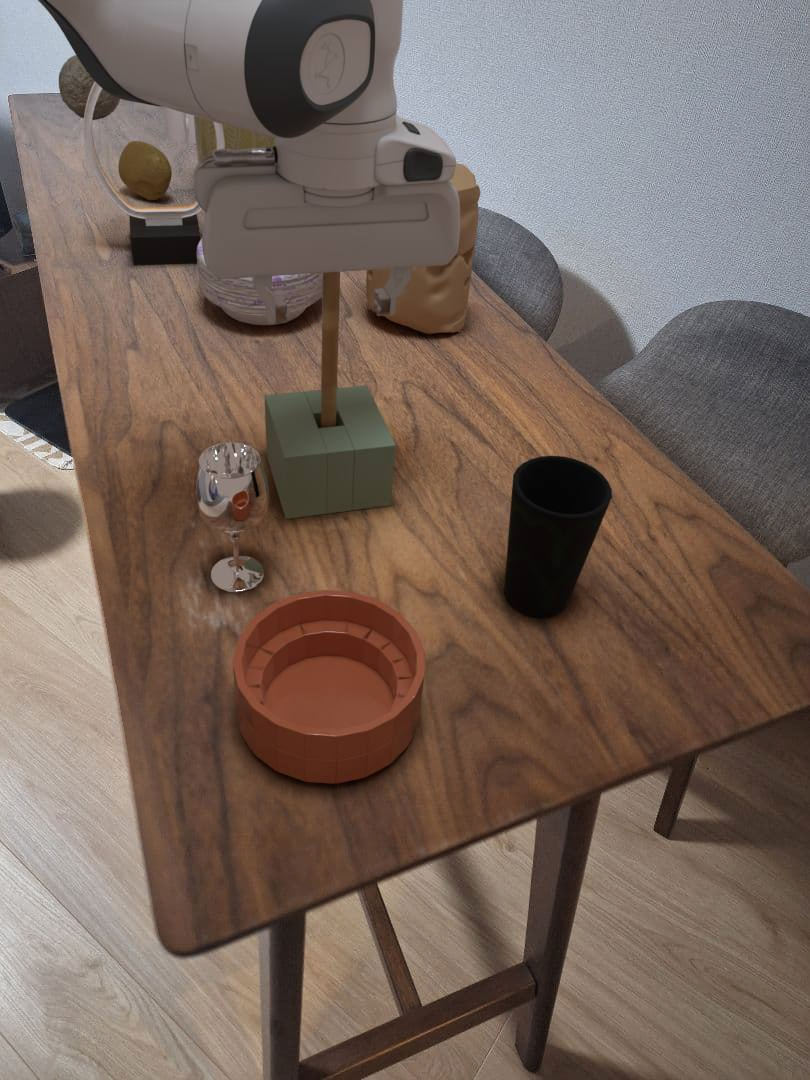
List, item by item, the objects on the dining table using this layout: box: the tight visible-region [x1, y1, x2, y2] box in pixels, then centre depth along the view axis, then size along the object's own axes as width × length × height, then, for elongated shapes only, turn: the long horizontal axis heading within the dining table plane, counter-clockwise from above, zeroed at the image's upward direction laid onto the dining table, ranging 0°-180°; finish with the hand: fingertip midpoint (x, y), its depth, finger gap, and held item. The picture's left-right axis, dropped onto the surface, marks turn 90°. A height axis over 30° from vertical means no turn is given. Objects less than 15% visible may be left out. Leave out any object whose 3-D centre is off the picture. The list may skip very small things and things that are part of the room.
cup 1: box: [163, 107, 196, 144], centre depth 152 cm, size 8×12×10 cm
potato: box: [117, 140, 173, 201], centre depth 132 cm, size 7×8×8 cm
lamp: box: [83, 81, 225, 266], centre depth 112 cm, size 17×9×32 cm, turn 103°
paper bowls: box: [196, 238, 323, 326], centre depth 110 cm, size 15×15×8 cm
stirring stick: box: [320, 272, 341, 428], centre depth 81 cm, size 1×1×22 cm
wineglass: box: [193, 441, 270, 593], centre depth 73 cm, size 6×6×12 cm
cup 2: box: [503, 455, 613, 619], centre depth 74 cm, size 8×8×12 cm
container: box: [365, 162, 481, 335], centre depth 108 cm, size 13×13×18 cm
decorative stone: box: [58, 54, 121, 121], centre depth 155 cm, size 10×8×10 cm
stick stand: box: [264, 385, 397, 520], centre depth 86 cm, size 10×10×7 cm
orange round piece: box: [232, 589, 426, 784], centre depth 65 cm, size 13×13×6 cm
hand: (331, 316), depth 76 cm, fingers open, 8 cm apart
